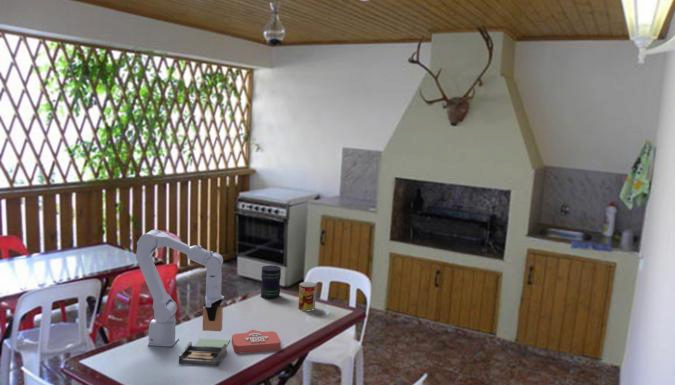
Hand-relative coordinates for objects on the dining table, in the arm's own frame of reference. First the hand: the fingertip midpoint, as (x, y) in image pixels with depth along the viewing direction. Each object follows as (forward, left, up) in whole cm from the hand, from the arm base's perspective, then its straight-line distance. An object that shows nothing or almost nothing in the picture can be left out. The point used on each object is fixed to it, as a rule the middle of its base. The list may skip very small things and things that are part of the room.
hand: (212, 319), depth 194 cm
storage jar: (+13, +62, -10) cm, 64 cm away
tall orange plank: (0, 0, -4) cm, 4 cm away
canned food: (+33, +47, -10) cm, 58 cm away
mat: (0, 0, -10) cm, 10 cm away
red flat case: (+16, +3, -11) cm, 20 cm away
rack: (0, -12, -10) cm, 16 cm away
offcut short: (-1, -13, -10) cm, 17 cm away
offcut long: (0, -16, -10) cm, 19 cm away
